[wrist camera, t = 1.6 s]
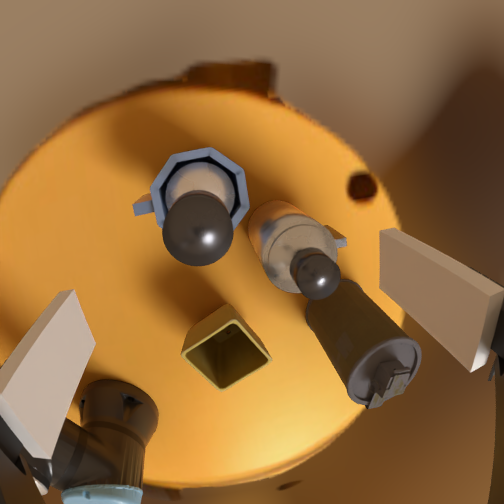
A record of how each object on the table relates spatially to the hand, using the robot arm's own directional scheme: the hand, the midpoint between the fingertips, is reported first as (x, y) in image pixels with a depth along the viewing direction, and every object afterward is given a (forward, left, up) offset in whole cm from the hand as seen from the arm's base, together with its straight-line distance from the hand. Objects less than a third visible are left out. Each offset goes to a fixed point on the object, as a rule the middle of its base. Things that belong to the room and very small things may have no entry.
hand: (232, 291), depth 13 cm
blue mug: (-2, +1, -31) cm, 31 cm away
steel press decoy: (+8, -7, -31) cm, 32 cm away
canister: (+16, -22, -31) cm, 41 cm away
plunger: (-1, +1, -20) cm, 20 cm away
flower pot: (-2, -20, -31) cm, 37 cm away
